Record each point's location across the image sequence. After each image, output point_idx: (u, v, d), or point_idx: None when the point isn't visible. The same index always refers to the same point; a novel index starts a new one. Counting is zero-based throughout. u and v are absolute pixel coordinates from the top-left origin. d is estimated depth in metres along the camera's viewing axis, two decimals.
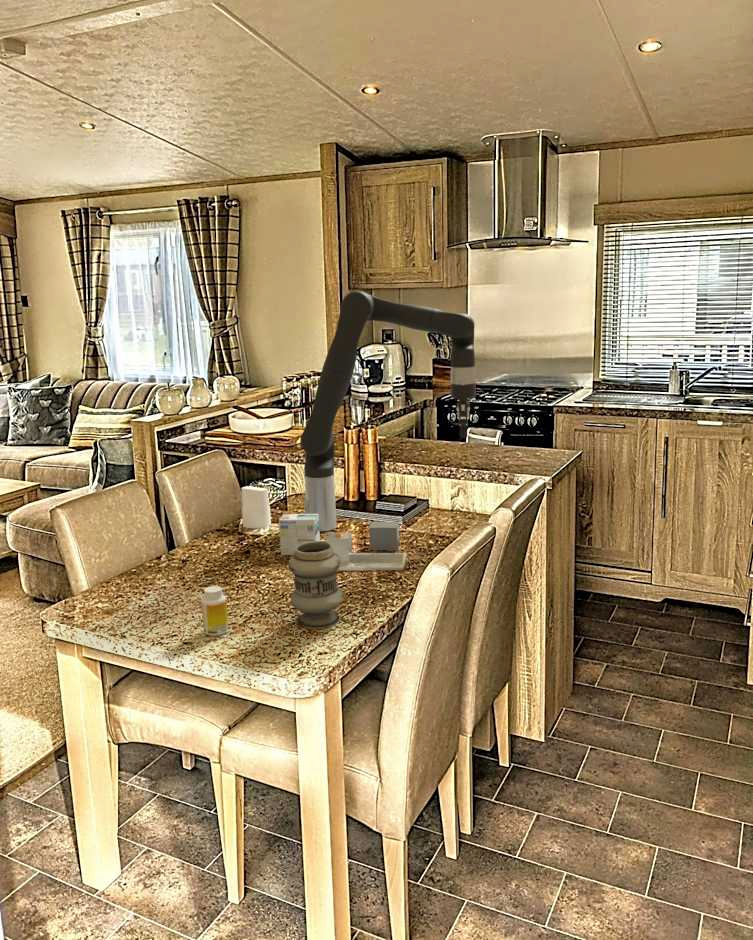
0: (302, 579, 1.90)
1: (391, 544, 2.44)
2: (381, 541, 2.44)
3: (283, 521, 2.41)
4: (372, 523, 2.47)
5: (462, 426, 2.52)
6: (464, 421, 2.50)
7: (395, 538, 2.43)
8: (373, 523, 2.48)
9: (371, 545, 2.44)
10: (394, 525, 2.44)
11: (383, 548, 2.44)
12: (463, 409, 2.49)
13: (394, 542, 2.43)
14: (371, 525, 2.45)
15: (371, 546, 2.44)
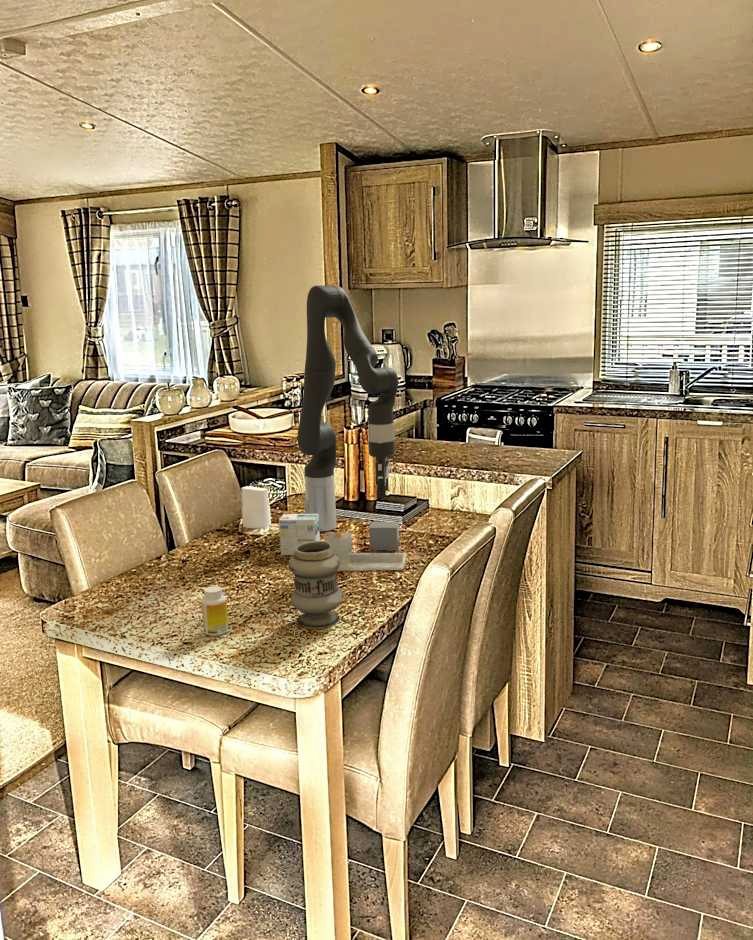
0: (302, 579, 1.90)
1: (391, 544, 2.44)
2: (381, 541, 2.44)
3: (283, 521, 2.41)
4: (372, 523, 2.47)
5: (380, 486, 2.38)
6: (381, 481, 2.36)
7: (395, 538, 2.43)
8: (373, 523, 2.48)
9: (371, 545, 2.44)
10: (394, 525, 2.44)
11: (383, 548, 2.44)
12: (380, 469, 2.35)
13: (394, 542, 2.43)
14: (371, 525, 2.45)
15: (371, 546, 2.44)
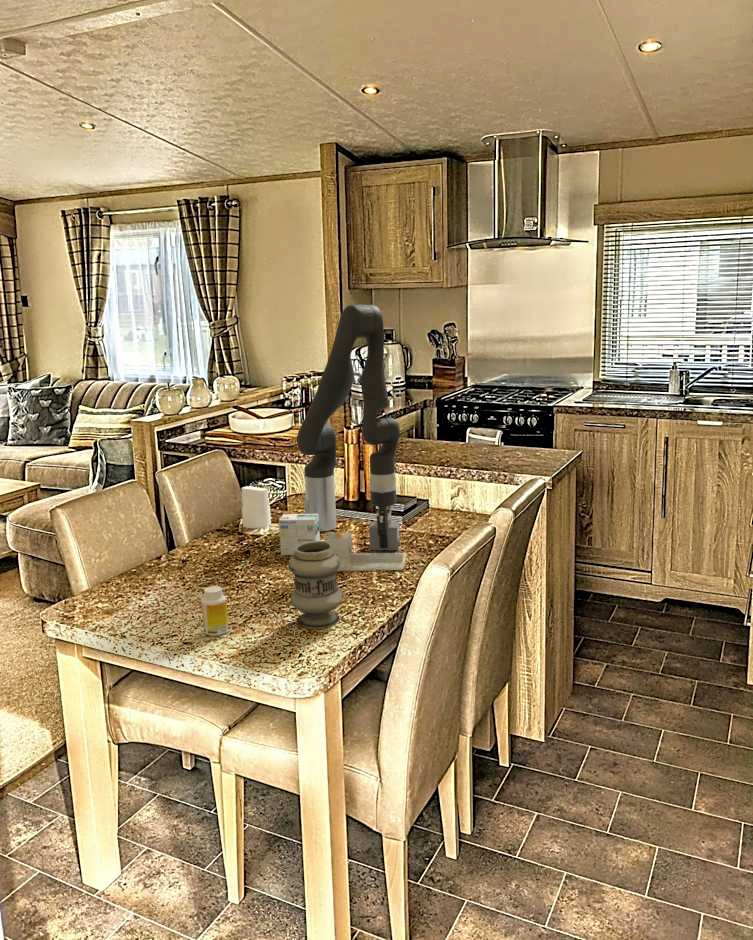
0: (302, 579, 1.90)
1: (391, 544, 2.44)
2: None
3: (283, 521, 2.41)
4: (372, 523, 2.47)
5: (382, 536, 2.42)
6: (383, 532, 2.40)
7: (395, 538, 2.43)
8: (374, 522, 2.48)
9: (371, 545, 2.44)
10: (394, 525, 2.44)
11: (383, 548, 2.44)
12: (381, 521, 2.39)
13: (394, 542, 2.43)
14: (371, 525, 2.45)
15: (371, 546, 2.44)
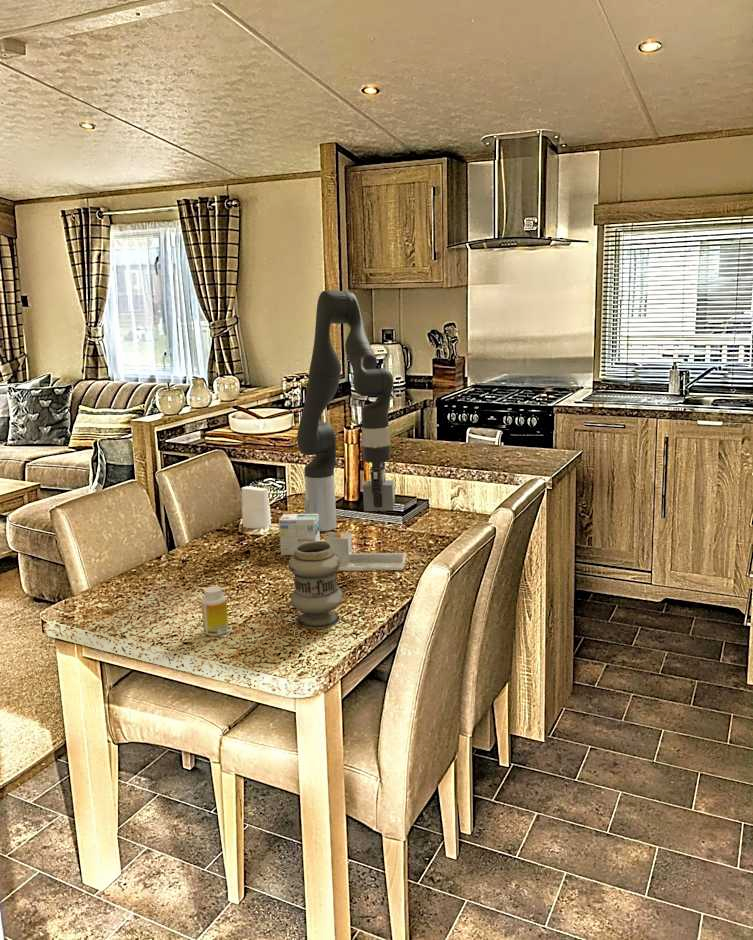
0: (302, 579, 1.90)
1: (386, 503, 2.29)
2: None
3: (283, 521, 2.41)
4: (366, 482, 2.33)
5: (376, 494, 2.27)
6: (377, 489, 2.25)
7: (390, 496, 2.29)
8: (367, 481, 2.33)
9: (365, 504, 2.30)
10: (389, 483, 2.30)
11: (378, 507, 2.30)
12: (376, 477, 2.24)
13: (389, 501, 2.29)
14: (365, 483, 2.31)
15: (365, 506, 2.30)
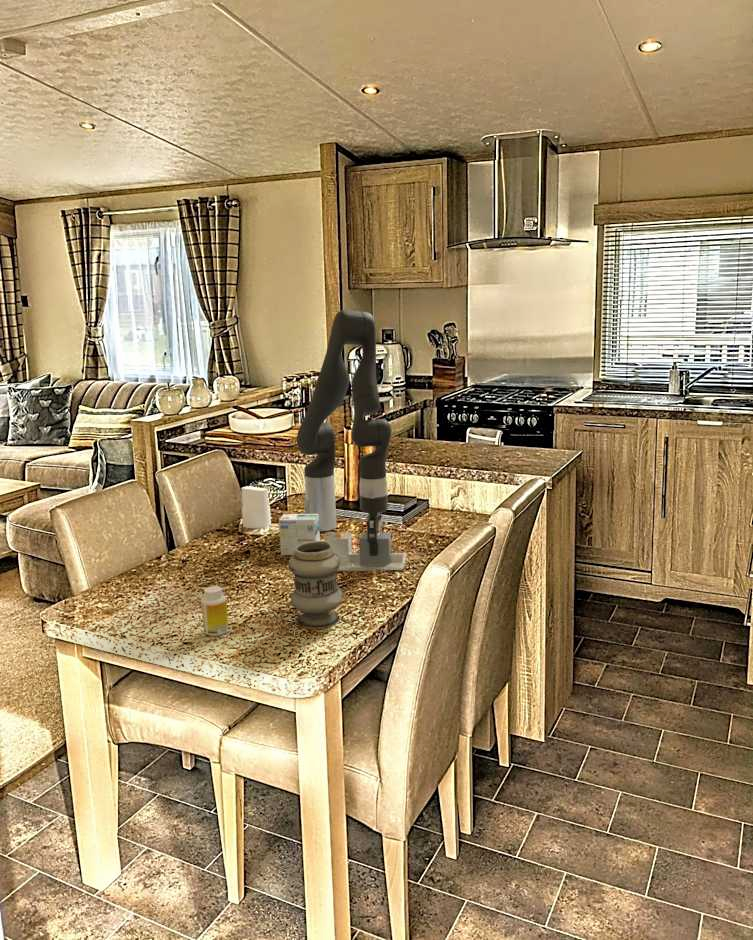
0: (302, 579, 1.90)
1: (383, 556, 2.30)
2: None
3: (283, 521, 2.41)
4: (363, 534, 2.34)
5: (372, 543, 2.27)
6: (373, 539, 2.25)
7: (387, 550, 2.30)
8: (364, 533, 2.34)
9: (361, 557, 2.31)
10: (385, 536, 2.31)
11: (374, 560, 2.31)
12: (372, 526, 2.24)
13: (386, 554, 2.30)
14: (361, 536, 2.32)
15: (361, 558, 2.31)
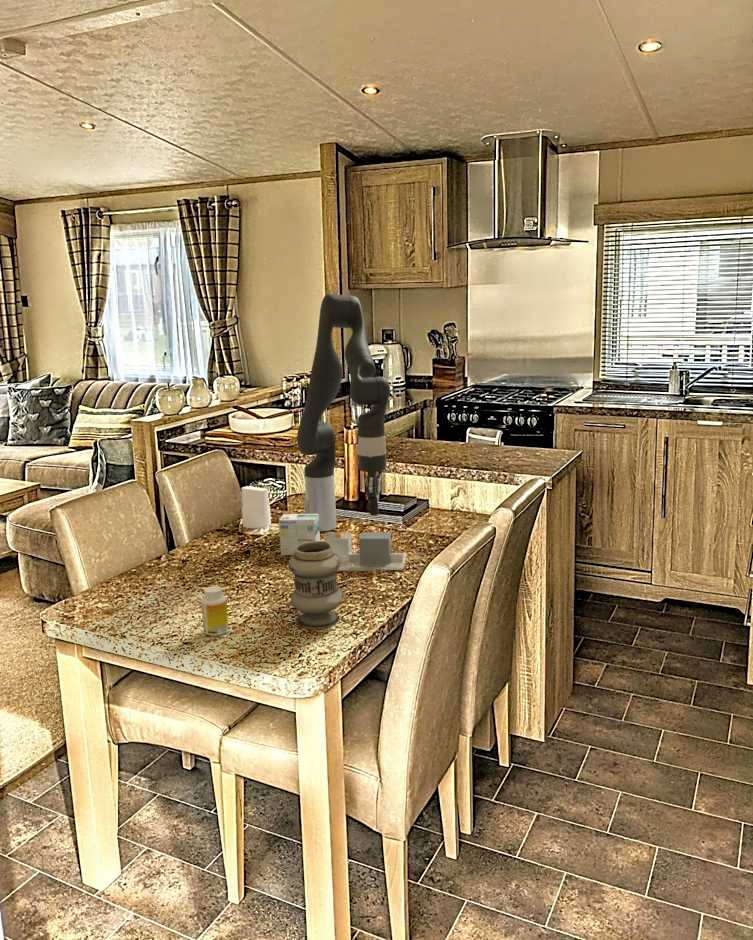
0: (302, 579, 1.90)
1: (383, 556, 2.30)
2: (372, 553, 2.30)
3: (283, 521, 2.41)
4: (363, 534, 2.34)
5: (372, 503, 2.29)
6: (373, 498, 2.27)
7: (387, 550, 2.30)
8: (364, 533, 2.34)
9: (361, 557, 2.31)
10: (385, 536, 2.31)
11: (374, 560, 2.31)
12: (371, 492, 2.24)
13: (386, 554, 2.30)
14: (361, 536, 2.32)
15: (361, 558, 2.31)
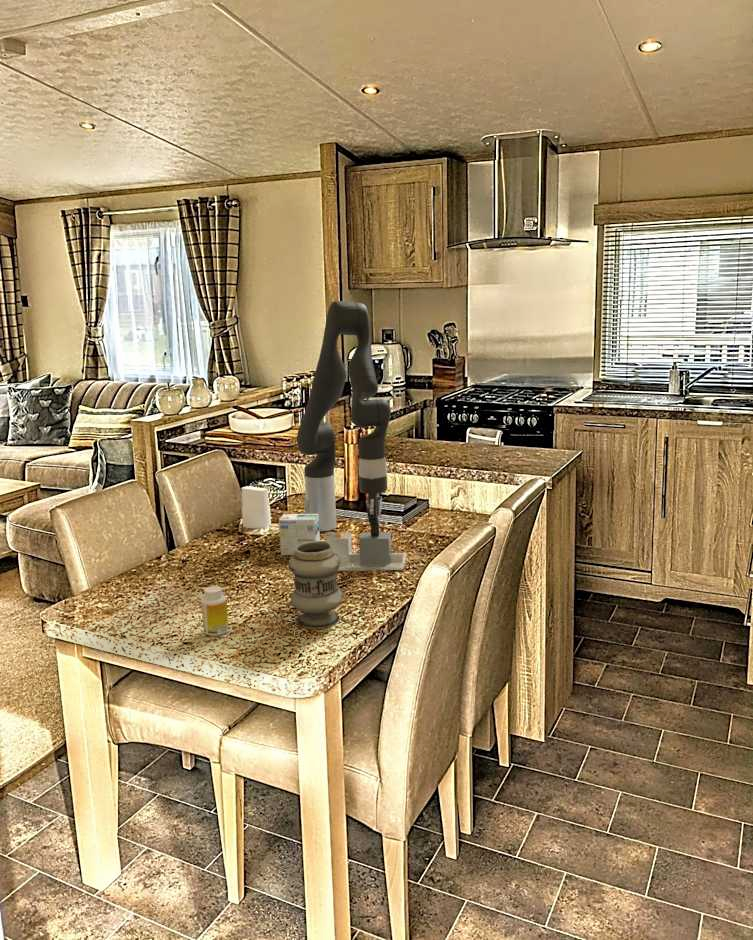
0: (302, 579, 1.90)
1: (383, 556, 2.30)
2: (372, 553, 2.30)
3: (283, 521, 2.41)
4: (363, 534, 2.34)
5: (373, 524, 2.30)
6: (374, 519, 2.28)
7: (387, 550, 2.30)
8: (364, 533, 2.34)
9: (361, 557, 2.31)
10: (385, 536, 2.31)
11: (374, 560, 2.31)
12: (372, 514, 2.25)
13: (386, 554, 2.30)
14: (361, 536, 2.32)
15: (361, 558, 2.31)
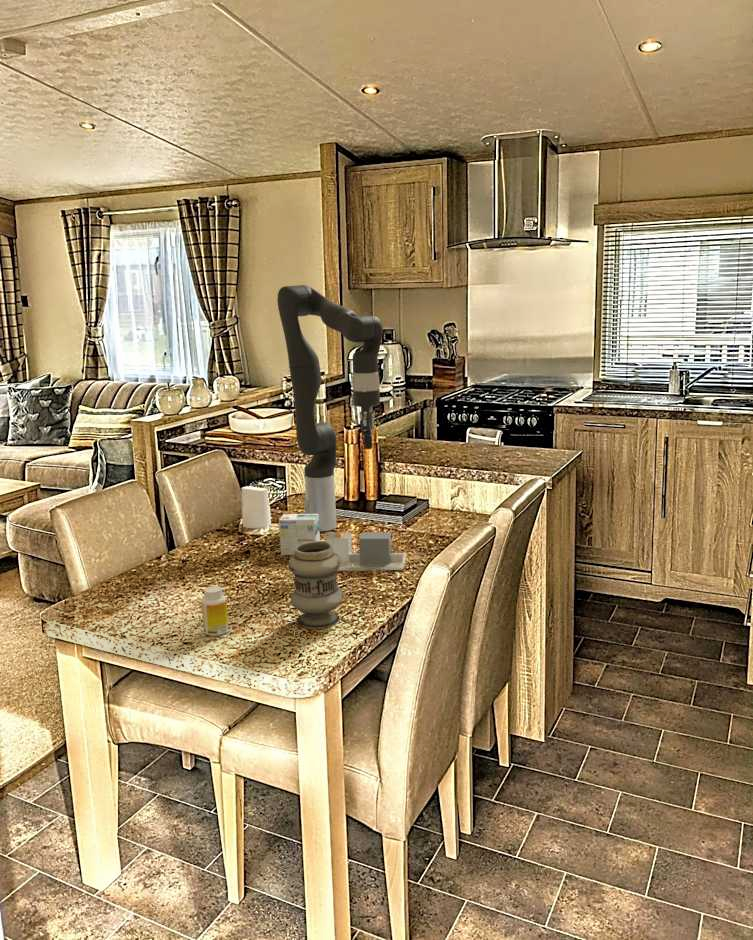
0: (302, 579, 1.90)
1: (383, 556, 2.30)
2: (372, 553, 2.30)
3: (283, 521, 2.41)
4: (363, 534, 2.34)
5: (366, 437, 2.41)
6: (367, 432, 2.39)
7: (387, 550, 2.30)
8: (364, 533, 2.34)
9: (361, 557, 2.31)
10: (385, 536, 2.31)
11: (374, 560, 2.31)
12: (365, 425, 2.36)
13: (386, 554, 2.30)
14: (361, 536, 2.32)
15: (361, 558, 2.31)
